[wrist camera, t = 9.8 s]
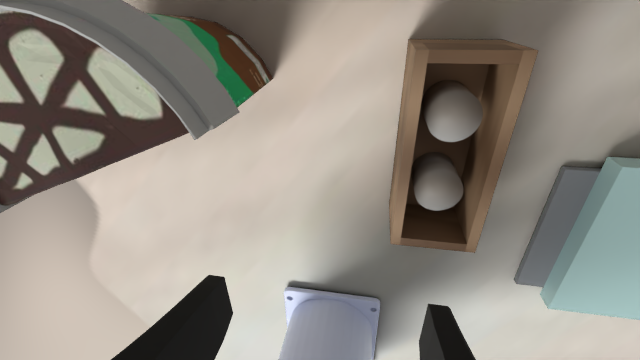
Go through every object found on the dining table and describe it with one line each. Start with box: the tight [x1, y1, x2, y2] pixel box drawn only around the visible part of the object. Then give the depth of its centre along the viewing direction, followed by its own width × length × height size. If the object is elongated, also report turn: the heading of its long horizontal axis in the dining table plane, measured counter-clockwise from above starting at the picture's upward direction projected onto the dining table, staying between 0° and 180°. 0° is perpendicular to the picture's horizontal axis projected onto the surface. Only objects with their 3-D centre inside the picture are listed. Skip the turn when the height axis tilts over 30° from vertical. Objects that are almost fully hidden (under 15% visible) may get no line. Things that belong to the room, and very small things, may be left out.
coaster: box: [514, 166, 601, 287], centre depth 19 cm, size 9×9×1 cm
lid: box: [540, 157, 640, 320], centre depth 18 cm, size 11×6×1 cm, turn 1°
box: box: [389, 39, 538, 253], centre depth 16 cm, size 10×4×4 cm, turn 1°
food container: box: [0, 0, 273, 213], centre depth 14 cm, size 12×6×10 cm, turn 113°
